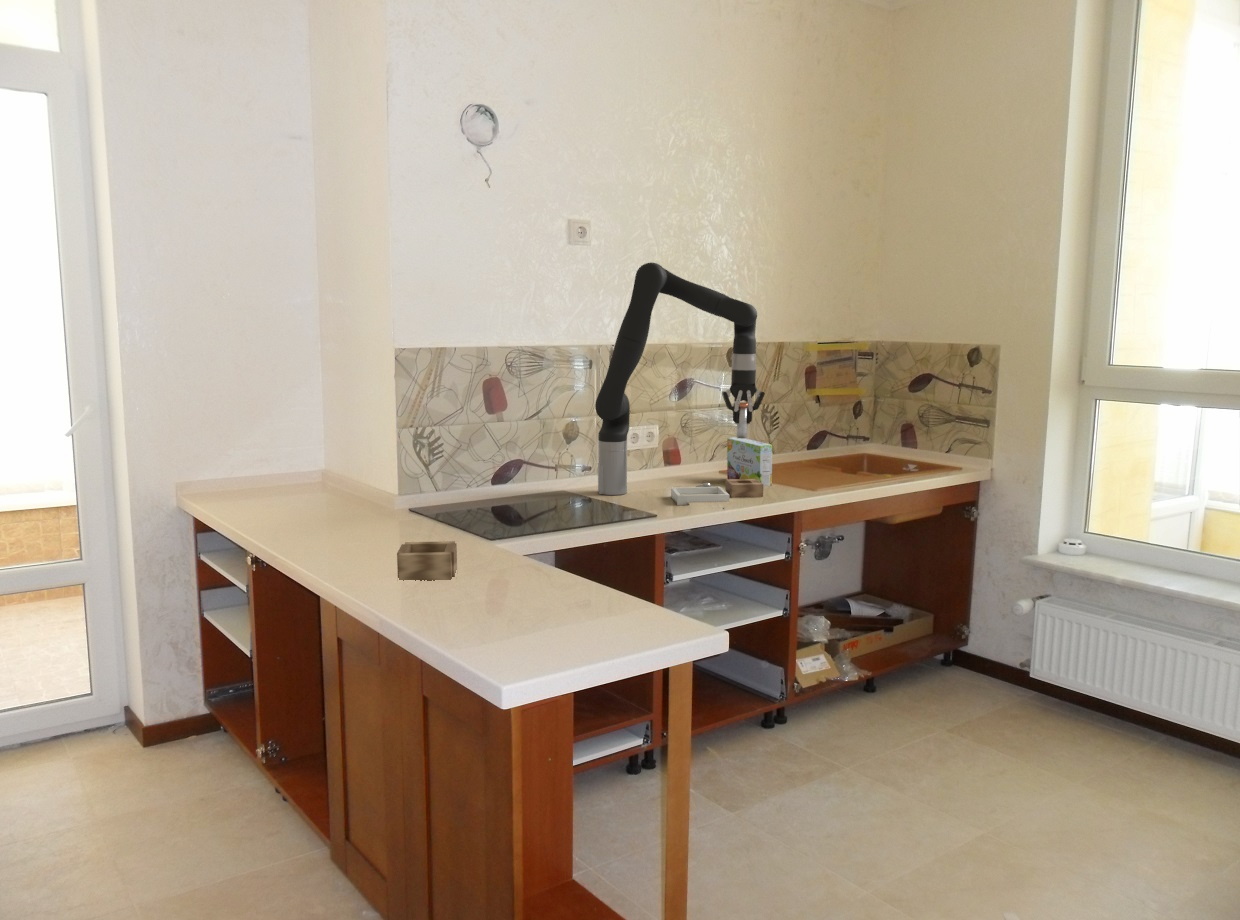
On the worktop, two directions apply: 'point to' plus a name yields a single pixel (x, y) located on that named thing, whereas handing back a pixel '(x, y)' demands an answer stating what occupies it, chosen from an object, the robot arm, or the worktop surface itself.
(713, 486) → the pulley
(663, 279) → the robot arm
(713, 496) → the tray
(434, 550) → the box
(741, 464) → the snack box
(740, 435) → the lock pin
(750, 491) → the wooden box
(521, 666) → the worktop surface
